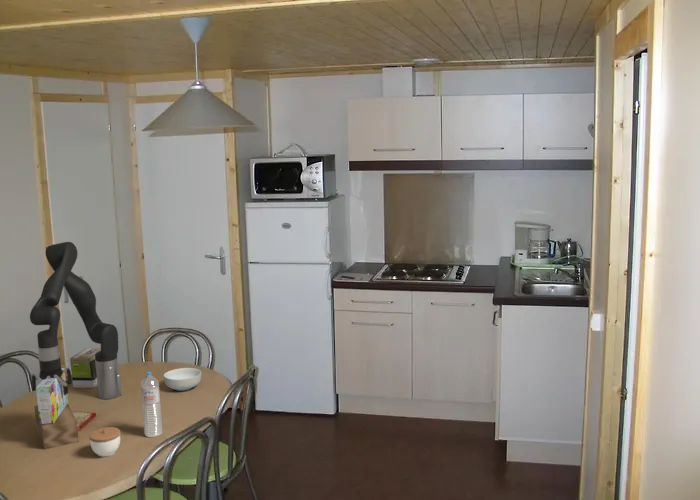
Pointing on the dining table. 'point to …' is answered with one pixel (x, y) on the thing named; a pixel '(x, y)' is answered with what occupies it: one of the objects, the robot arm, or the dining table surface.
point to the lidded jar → (105, 441)
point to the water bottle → (151, 406)
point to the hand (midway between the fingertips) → (53, 397)
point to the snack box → (51, 399)
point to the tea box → (84, 368)
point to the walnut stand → (58, 429)
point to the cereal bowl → (182, 378)
